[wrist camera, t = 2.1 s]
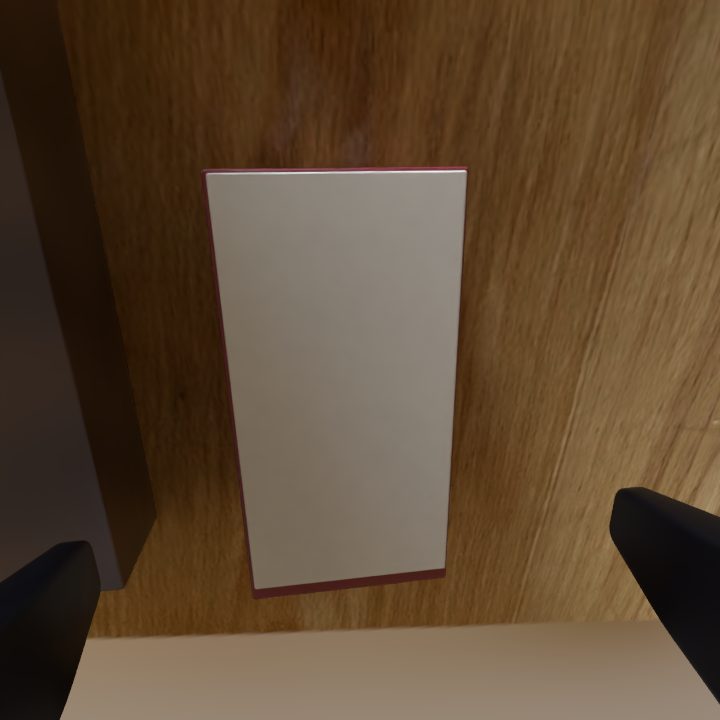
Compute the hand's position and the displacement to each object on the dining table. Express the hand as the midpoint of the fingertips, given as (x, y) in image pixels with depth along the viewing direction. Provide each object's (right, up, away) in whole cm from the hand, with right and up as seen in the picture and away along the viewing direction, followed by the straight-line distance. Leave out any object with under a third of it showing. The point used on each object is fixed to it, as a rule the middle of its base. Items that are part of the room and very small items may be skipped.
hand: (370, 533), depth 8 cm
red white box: (-1, +3, +9) cm, 9 cm away
